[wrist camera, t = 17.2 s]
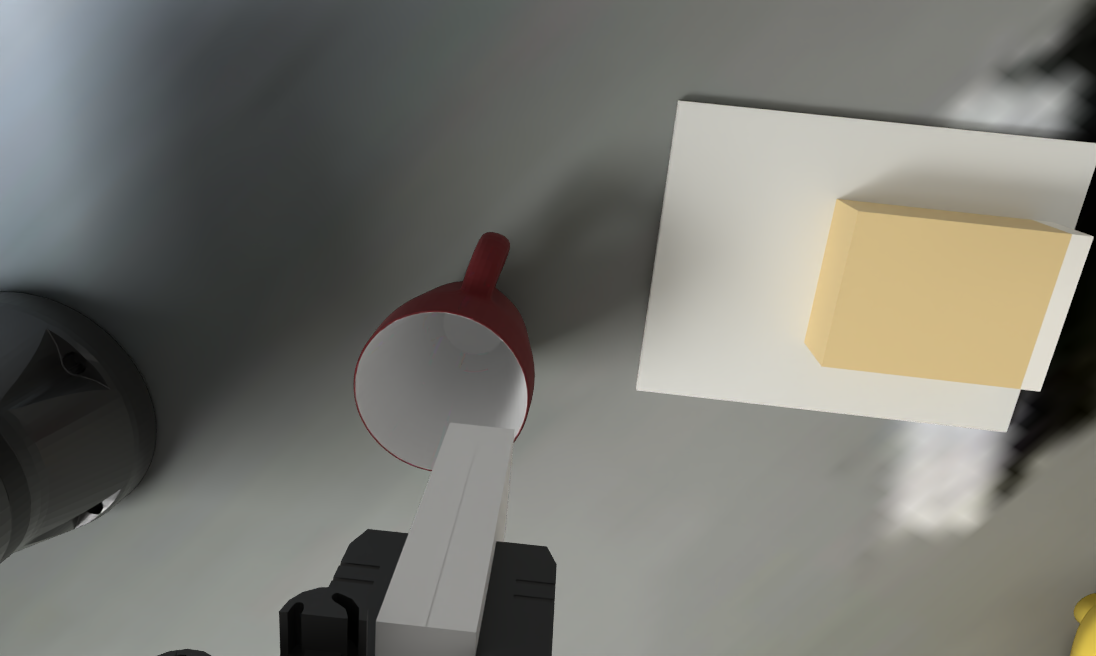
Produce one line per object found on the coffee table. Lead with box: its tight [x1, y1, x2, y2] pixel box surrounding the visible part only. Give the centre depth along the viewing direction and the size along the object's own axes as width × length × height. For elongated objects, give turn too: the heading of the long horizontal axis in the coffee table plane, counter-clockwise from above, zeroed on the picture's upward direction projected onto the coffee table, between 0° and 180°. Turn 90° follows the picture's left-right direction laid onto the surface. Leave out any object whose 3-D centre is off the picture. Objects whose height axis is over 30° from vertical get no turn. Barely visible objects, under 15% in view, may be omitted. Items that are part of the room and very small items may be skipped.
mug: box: [354, 232, 535, 471], centre depth 38 cm, size 10×8×10 cm
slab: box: [804, 199, 1094, 391], centre depth 39 cm, size 4×8×11 cm
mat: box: [636, 100, 1096, 432], centre depth 41 cm, size 21×16×1 cm
